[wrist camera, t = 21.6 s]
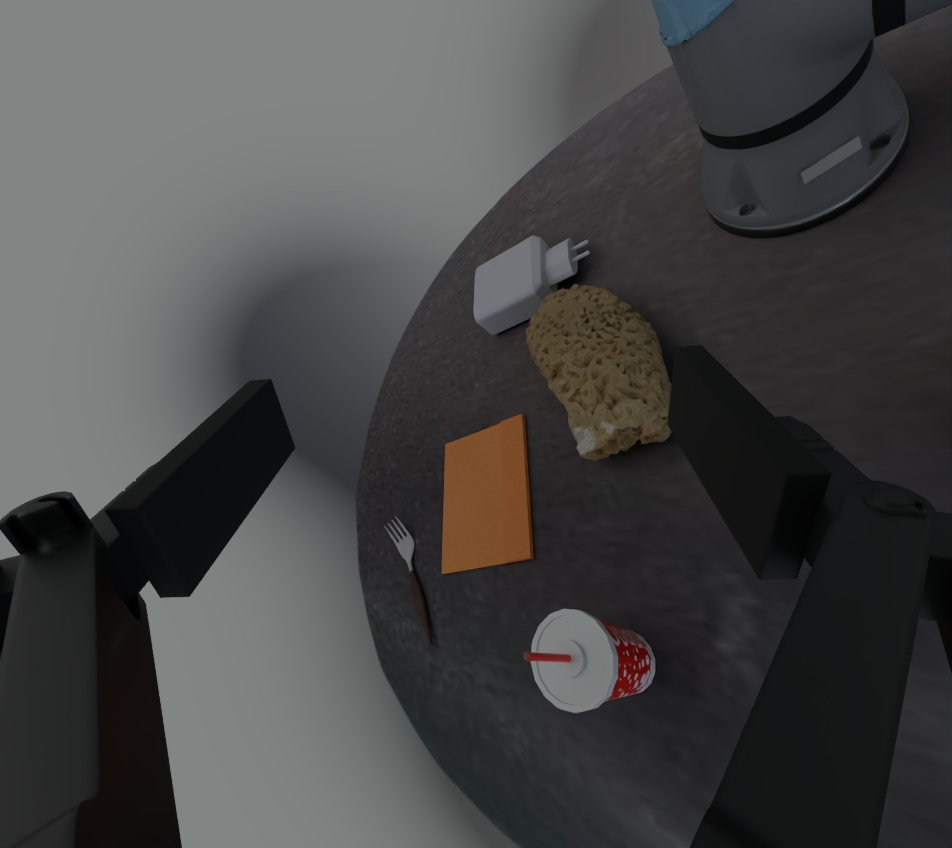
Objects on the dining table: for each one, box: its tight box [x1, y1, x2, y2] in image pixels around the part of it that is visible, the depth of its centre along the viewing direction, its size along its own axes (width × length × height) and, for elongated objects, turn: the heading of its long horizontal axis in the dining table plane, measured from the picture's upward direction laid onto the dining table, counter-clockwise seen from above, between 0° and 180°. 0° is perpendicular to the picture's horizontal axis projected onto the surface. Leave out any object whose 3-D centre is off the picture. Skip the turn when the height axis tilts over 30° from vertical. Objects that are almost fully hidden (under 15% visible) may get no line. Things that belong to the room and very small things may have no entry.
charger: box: [474, 235, 590, 335], centre depth 58 cm, size 5×9×15 cm
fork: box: [384, 516, 433, 648], centre depth 54 cm, size 3×16×2 cm, turn 27°
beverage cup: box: [523, 609, 655, 713], centre depth 32 cm, size 6×6×14 cm
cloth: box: [442, 414, 534, 574], centre depth 53 cm, size 16×12×1 cm
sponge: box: [526, 284, 672, 461], centre depth 46 cm, size 13×8×20 cm
